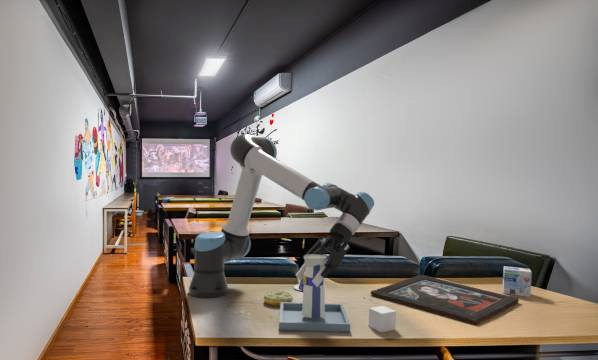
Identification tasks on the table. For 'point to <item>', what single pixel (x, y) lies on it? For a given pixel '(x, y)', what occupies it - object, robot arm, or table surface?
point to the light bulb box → (517, 281)
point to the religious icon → (447, 298)
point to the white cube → (382, 318)
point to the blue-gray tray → (313, 319)
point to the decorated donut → (277, 297)
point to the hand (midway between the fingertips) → (306, 280)
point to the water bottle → (313, 287)
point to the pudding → (299, 286)
